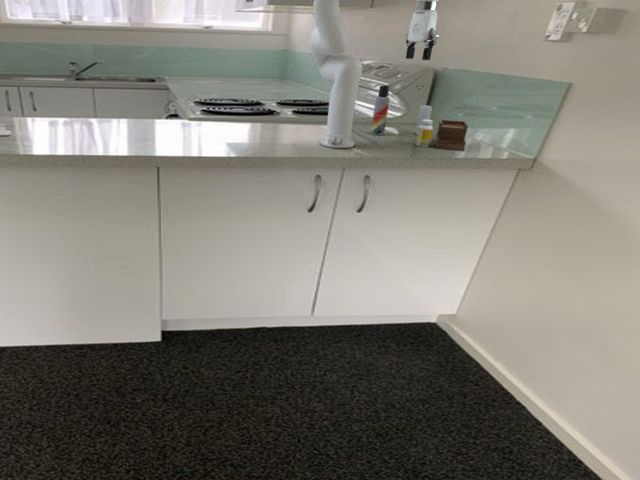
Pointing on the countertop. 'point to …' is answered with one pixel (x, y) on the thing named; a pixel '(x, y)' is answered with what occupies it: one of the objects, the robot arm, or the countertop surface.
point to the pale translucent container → (423, 115)
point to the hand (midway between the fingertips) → (417, 59)
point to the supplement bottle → (424, 133)
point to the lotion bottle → (380, 111)
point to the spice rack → (451, 135)
